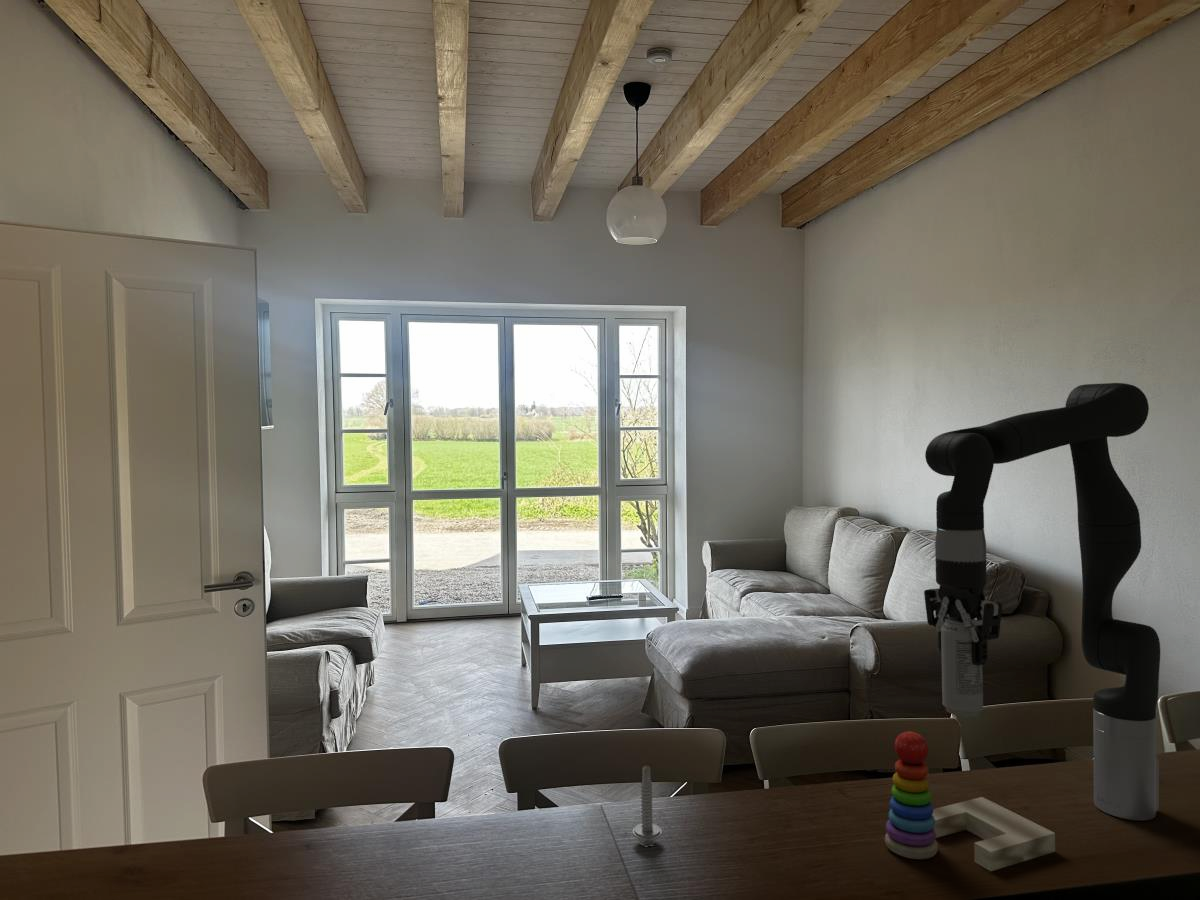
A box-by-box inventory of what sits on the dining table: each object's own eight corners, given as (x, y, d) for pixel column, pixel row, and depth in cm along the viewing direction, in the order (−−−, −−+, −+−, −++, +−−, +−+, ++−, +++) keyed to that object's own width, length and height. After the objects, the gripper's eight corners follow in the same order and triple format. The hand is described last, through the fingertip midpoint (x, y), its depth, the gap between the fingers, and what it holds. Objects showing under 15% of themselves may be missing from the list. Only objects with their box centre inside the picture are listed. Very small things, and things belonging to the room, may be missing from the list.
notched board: (982, 813, 139) (981, 796, 139) (1055, 851, 126) (1054, 833, 126) (920, 830, 134) (920, 812, 134) (990, 871, 121) (990, 851, 121)
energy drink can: (969, 704, 132) (967, 614, 132) (991, 716, 126) (989, 623, 126) (935, 706, 132) (933, 616, 131) (955, 719, 126) (953, 625, 125)
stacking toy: (943, 864, 123) (942, 744, 123) (888, 859, 125) (887, 741, 125) (932, 838, 131) (931, 726, 131) (881, 834, 133) (880, 723, 132)
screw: (665, 838, 132) (657, 853, 128) (637, 834, 134) (629, 848, 129) (664, 761, 132) (656, 773, 127) (636, 757, 134) (627, 769, 129)
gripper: (1015, 560, 123) (1017, 667, 124) (944, 548, 137) (945, 645, 137) (979, 564, 120) (981, 674, 121) (909, 552, 134) (911, 651, 134)
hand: (962, 658), depth 129 cm, fingers closed on energy drink can, 6 cm apart
